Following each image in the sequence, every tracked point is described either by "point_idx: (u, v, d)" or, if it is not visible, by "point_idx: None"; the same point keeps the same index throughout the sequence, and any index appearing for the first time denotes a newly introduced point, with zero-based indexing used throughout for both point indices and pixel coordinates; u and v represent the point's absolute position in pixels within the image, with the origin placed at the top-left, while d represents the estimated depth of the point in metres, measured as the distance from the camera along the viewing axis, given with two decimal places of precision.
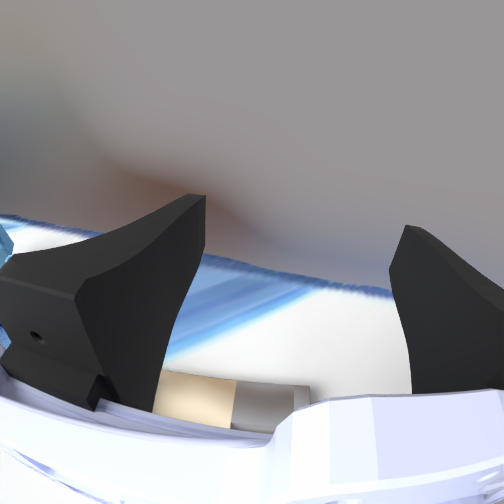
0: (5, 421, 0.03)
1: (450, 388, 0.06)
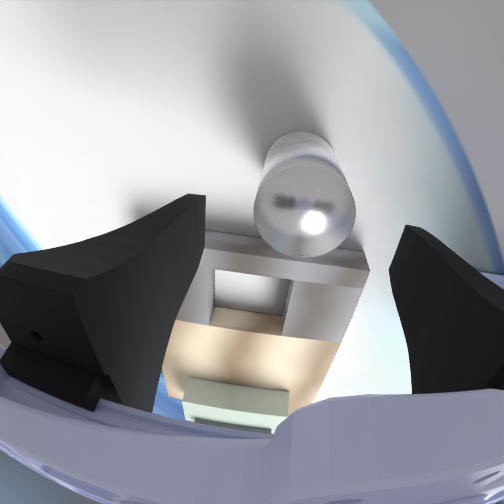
0: (5, 421, 0.03)
1: (450, 388, 0.06)
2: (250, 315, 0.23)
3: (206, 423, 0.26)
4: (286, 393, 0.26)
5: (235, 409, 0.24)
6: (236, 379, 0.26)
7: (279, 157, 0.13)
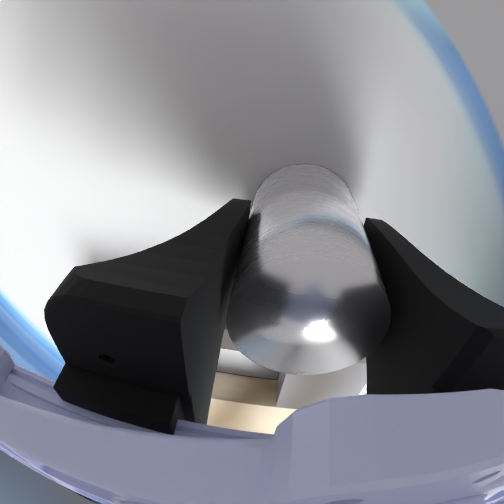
0: (5, 421, 0.03)
1: (398, 390, 0.06)
2: (238, 380, 0.19)
3: None
4: None
5: None
6: None
7: (270, 224, 0.08)
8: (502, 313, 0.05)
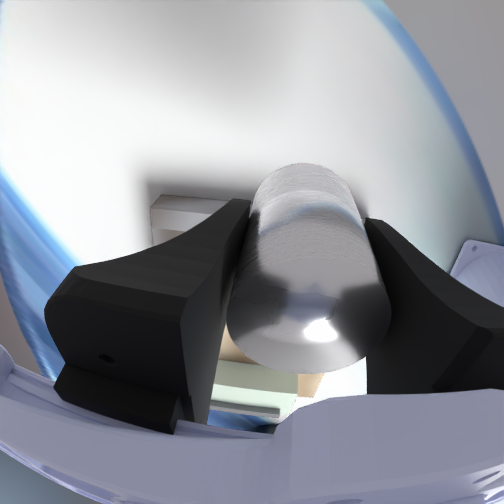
0: (5, 421, 0.03)
1: (398, 390, 0.06)
2: None
3: (214, 404, 0.26)
4: None
5: (244, 387, 0.25)
6: (244, 356, 0.26)
7: (270, 223, 0.08)
8: (502, 313, 0.05)
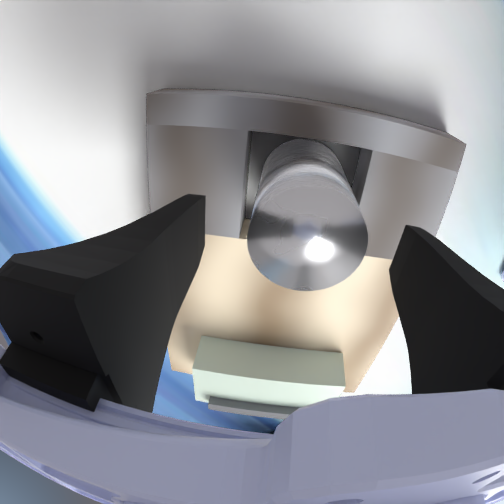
0: (5, 421, 0.03)
1: (450, 388, 0.06)
2: None
3: (226, 403, 0.19)
4: (339, 355, 0.19)
5: (271, 379, 0.17)
6: (271, 335, 0.19)
7: (279, 172, 0.11)
8: None
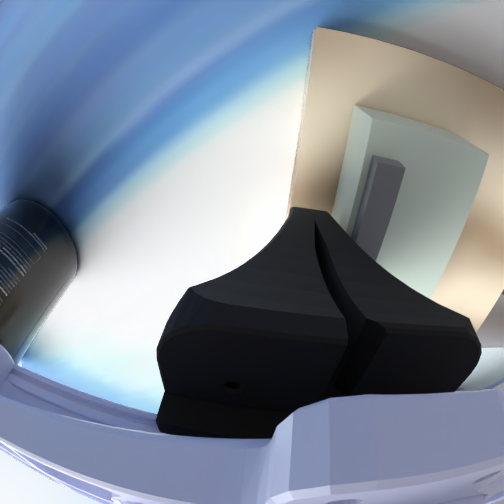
0: (5, 421, 0.03)
1: None
2: None
3: None
4: None
5: (440, 274, 0.10)
6: None
7: None
8: (425, 307, 0.05)
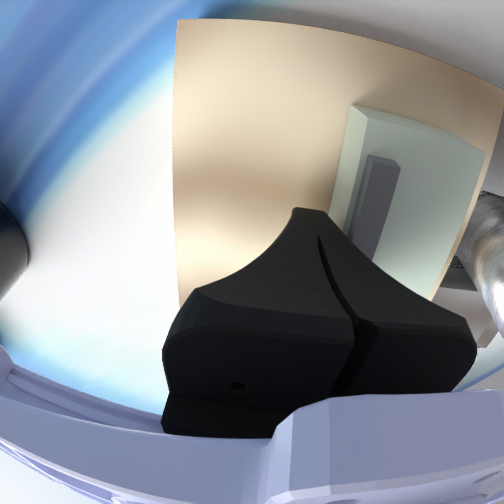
0: (5, 421, 0.03)
1: None
2: None
3: None
4: None
5: (437, 274, 0.10)
6: None
7: None
8: (420, 307, 0.05)
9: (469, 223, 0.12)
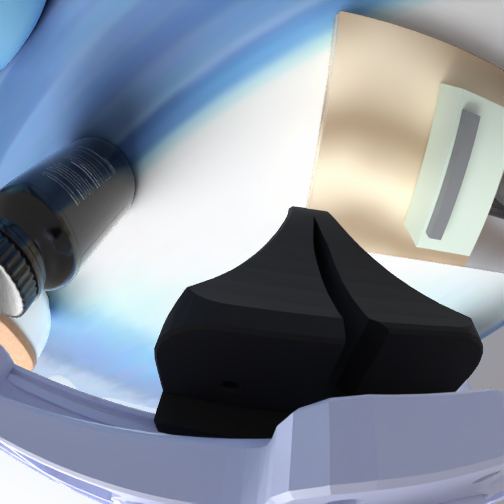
0: (5, 421, 0.03)
1: None
2: None
3: None
4: None
5: (495, 190, 0.13)
6: (421, 151, 0.16)
7: None
8: (427, 307, 0.05)
9: None
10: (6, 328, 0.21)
